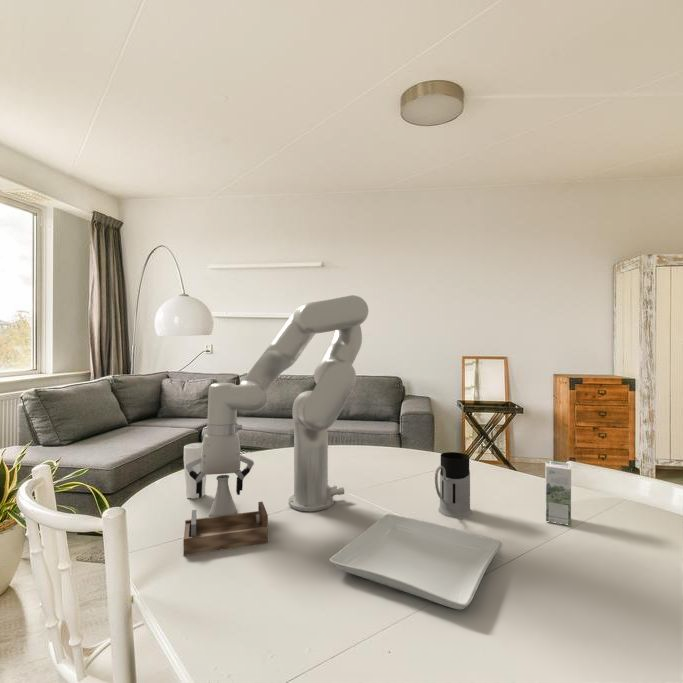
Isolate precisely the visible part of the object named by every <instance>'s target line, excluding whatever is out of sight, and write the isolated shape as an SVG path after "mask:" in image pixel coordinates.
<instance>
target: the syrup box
mask: <svg viewBox="0 0 683 683" xmlns="http://www.w3.org/2000/svg"><path fill="white" fill-rule="evenodd" d="M544 469H545V470H544V471H545V472H544V474H545V476H544V477H545V482H544V483H545V488H544V490H545V491H544V495H545V496H544V497H545V498H544V499H545V501H544V502H545V506H544V507H545V508H544V509H545V510H544V513H545V514H544V516H545V522H546V521H549V522H556V523H562V524H568V525H572V469H571V465H570V462H562V461H553V460H552V461H551V460H545V468H544ZM549 522H548V523H549Z"/></svg>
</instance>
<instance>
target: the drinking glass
mask: <svg viewBox="0 0 683 683" xmlns="http://www.w3.org/2000/svg"><path fill="white" fill-rule="evenodd" d="M201 448H202V442H193V443H188V444H185V445H184V446H183V466H184V477H185V478H184V479H185V492H186V493H185V494H186V495H185V496H186V497H187V498H188V499H190V498H191V499H192V500H193V499H194V500H196V498H197V499H200V498H199V494H196V483H197V482H196V481H195V480H194V479H193V478H192V477H191V476H190V475H189V472H188V471H187V469H186V464H187V463H189V462H191V461H193V460H195V459H197V458H199V457H201ZM193 470H194V471H195V472H196V473H197V474H198V473H199V472H200V471H201V468H200V463H199V464H197V465H195V466H194V467H193ZM206 482H207V475H205V476H204V477H203V478H202V497H201V498H203V497H204V496H205V495H206V486H207V485H206ZM191 499H190V500H191Z"/></svg>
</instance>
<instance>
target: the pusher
mask: <svg viewBox="0 0 683 683" xmlns="http://www.w3.org/2000/svg"><path fill="white" fill-rule="evenodd" d="M190 519H191V537H194V536H196V519H197V509H192V510H191V518H190Z"/></svg>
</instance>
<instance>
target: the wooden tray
mask: <svg viewBox="0 0 683 683" xmlns="http://www.w3.org/2000/svg"><path fill="white" fill-rule="evenodd" d="M257 507H258V510H256V511H250V512H249V511H248V512H240V513H236V514H231V515H223V516H215V517H208V516H206V517H199V518H196V536H194V537H191V518H190V519H186V520H184V523H185V524H184V532H183V546H182V547H183V551H182V552H183V556H191V555H196V554H203V553H210V552H216V551H222V550H223V551H225V550H230V549H231V550H232V549H237V548H245V547H250V546H252V547H253V546H259V545H263V544H269V515H268V512H267V509H266V507H265V505H264V502H263V501H259V502H258V506H257Z"/></svg>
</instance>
